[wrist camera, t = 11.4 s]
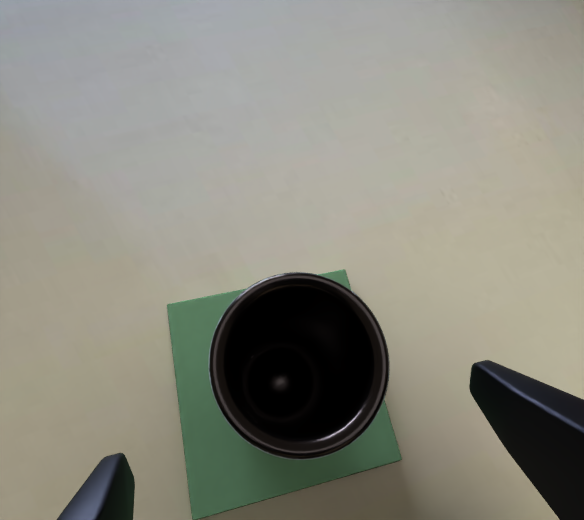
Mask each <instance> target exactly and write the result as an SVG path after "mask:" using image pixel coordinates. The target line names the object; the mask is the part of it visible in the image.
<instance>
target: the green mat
mask: <svg viewBox="0 0 584 520" xmlns="http://www.w3.org/2000/svg"><path fill="white" fill-rule="evenodd" d="M318 275H320V276H324V277H327V278H330V279H332V280H334V281H336V282H338V283H340V284H342V285H344V286H345V287H347V288H348V289H350V290H351V288H350V284H349V281H348V278H347V274H346V271H345V269H344V270H339V271H334V272H329V273H324V274H318ZM244 290H246V289H243V290H237V291H232V292H227V293H222V294H217V295H212V296H207V297H202V298H197V299H192V300H187V301H182V302H177V303H172V304H167V309H168V317H169V326H170V334H171V343H172V351H173V360H174V368H175V376H176V385H177V393H178V402H179V410H180V419H181V427H182V436H183V444H184V453H185V461H186V469H187V478H188V486H189V495H190V503H191V512H192V520H197V519H201V518H204V517H208V516H211V515H215V514H218V513H221V512H225V511H228V510H232V509H235V508H239V507H242V506H245V505H249V504H252V503H256V502H259V501H263V500H266V499H269V498H273V497H276V496H280V495H283V494H287V493H290V492H293V491H297V490H300V489H304V488H307V487H311V486H314V485H318V484H321V483H324V482H328V481H331V480H335V479H338V478H342V477H345V476H348V475H352V474H355V473H359V472H362V471H366V470H369V469H372V468H376V467H379V466H383V465H386V464H390V463H393V462H396V461H400V460H402V458H401V454H400V451H399V448H398V444H397V441H396V438H395V434H394V431H393V428H392V424H391V421H390V418H389V414H388V411H387V408H386V404H385V401H383V404H382V406H381V408H380V410H379V412H378V414H377V416H376V417H375V419H374V421H373V422H372V423H371V425H370V426H369V427H368V428H367V430H366V431H365V432H364V433H363V434H362V435H361V436H360V437H359V438H358V439H356V440H355V441H354V442H353V443H351V444H350V445H348V446H347V447H345V448H343V449H342V450H340V451H338V452H336V453H333V454H331V455H328V456H324V457H321V458H316V459H308V460H292V459H285V458H280V457H276V456H273V455H270V454H267V453H265V452H263V451H261V450H259V449H257V448H255V447H254V446H252V445H251V444H249V443H248V442H246V441H245V440H244V439H243V438H241V437H240V436H239V435H238V434H237V433H236V432H235V431H234V430H233V429H232V427H231V426H230V425H229V424H228V422H227V421H226V420H225V418H224V416H223V415H222V413H221V411H220V410H219V408H218V406H217V403H216V401H215V398H214V395H213V392H212V389H211V384H210V378H209V351H210V345H211V341H212V337H213V334H214V331H215V329H216V326H217V324H218V322H219V320H220V318H221V316H222V315H223V313H224V312H225V310H226V309H227V307H228V306H229V305H230V304H231V303H232V301H233V300H234V299H235V298H236V297H237V296H238V295H240V294H241V293H242V292H243V291H244Z"/></svg>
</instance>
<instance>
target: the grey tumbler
mask: <svg viewBox="0 0 584 520" xmlns="http://www.w3.org/2000/svg"><path fill="white" fill-rule="evenodd" d="M209 378H210V384H211V389H212V392H213V395H214V398H215V401H216V403H217V406H218V408H219V410H220V411H221V413H222V415H223V416H224V418H225V420H226V421H227V422H228V424H229V425H230V426H231V427H232V429H233V430H234V431H235V432H236V433H237V434H238V435H239V436H240V437H241V438H243V439H244V440H245V441H246V442H248V443H249V444H251V445H252V446H254V447H255V448H257V449H259V450H261V451H263V452H265V453H267V454H270V455H273V456H276V457H280V458H285V459H292V460H308V459H316V458H321V457H324V456H328V455H331V454H333V453H336V452H338V451H340V450H342V449H343V448H345V447H347V446H348V445H350V444H351V443H353V442H354V441H355V440H356V439H358V438H359V437H360V436H361V435H362V434H363V433H364V432H365V431H366V430H367V428H368V427H369V426H370V425H371V423H372V422H373V421H374V419H375V417H376V416H377V414H378V412H379V410H380V408H381V406H382V404H383V401H384V398H385V395H386V391H387V387H388V381H389V354H388V348H387V344H386V340H385V337H384V334H383V332H382V329H381V327H380V325H379V323H378V321H377V319H376V318H375V316H374V314H373V313H372V311H371V310H370V309H369V307H368V306H367V305H366V304H365V303H364V302H363V301H362V299H360V298H359V297H358V296H357V295H356V294H355V293H354V292H352V291H351V290H350V289H348V288H347V287H345V286H344V285H342V284H340V283H338V282H336V281H334V280H332V279H330V278H327V277H324V276H320V275H317V274H311V273H300V272H294V273H284V274H279V275H275V276H271V277H268V278H265V279H263V280H261V281H259V282H257V283H255V284H253V285H252V286H250V287H248V288H247V289H246V290H244V291H243V292H242V293H241V294H240V295H238V296H237V297H236V298H235V299H234V300H233V301H232V303H231V304H230V305H229V306H228V307H227V309H226V310H225V312H224V313H223V315H222V316H221V318H220V320H219V322H218V324H217V326H216V329H215V331H214V334H213V337H212V341H211V345H210V351H209Z"/></svg>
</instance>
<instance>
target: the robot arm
mask: <svg viewBox="0 0 584 520" xmlns="http://www.w3.org/2000/svg"><path fill="white" fill-rule="evenodd" d="M469 387H470V392H471V394H472V396H473V398H474V400H475V401H476V403H477V404H478V406H479V407H480V409H481V411H482V412H483V414H484V415H485V417H486V419H487V420H488V422H489V423H490V425H491V426H492V428H493V430H494V431H495V433H496V434H497V436H498V438H499V439H500V441H501V442H502V444H503V445H504V447H505V448H506V449H507V451H508V452H509V454H510V455H511V456H512V458H513V459H514V460H515V462H516V463H517V464H518V465H519V467H520V468H521V469H522V471H523V472H524V473H525V475H526V476H527V477H528V478H529V480H530V481H531V482H532V484H533V485H534V486H535V488H536V489H537V490H538V492H539V493H540V494H541V495H542V497H543V498H544V499H545V501H546V502H547V503H548V505H549V506H550V507H551V508H552V510H553V511H554V512H555V514H556V515H557V516H558V518H559V519H560V520H584V400H583V399H581V398H578V397H576V396H573V395H571V394H569V393H566V392H564V391H561V390H559V389H557V388H554V387H552V386H549V385H547V384H545V383H542V382H540V381H537V380H535V379H533V378H530V377H528V376H525V375H523V374H521V373H518V372H516V371H514V370H511V369H509V368H506V367H504V366H502V365H499V364H497V363H494V362H492V361H489V360H485V361H481V362H477V363H474V364H473V365H472V368H471V377H470V385H469ZM134 489H135V482H134V476H133V474H132V471H131V469H130V466H129V464H128V462H127V459H126V457H125V455H124V454H123V453H118V454H114V455H110V456H106V457H104V458H103V459H102V460H101V461H100V463H99V464H98V465H97V467H96V468H95V469H94V471H93V472H92V473H91V475H90V476H89V477H88V479H87V480H86V481H85V483H84V484H83V485H82V487H81V488H80V489H79V491H78V492H77V493H76V495H75V496H74V497H73V498H72V500H71V501H70V502H69V504H68V505H67V506H66V508H65V509H64V510H63V512H62V513H61V514H60V516H59V517H58V518H57V520H133V507H134Z"/></svg>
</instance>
